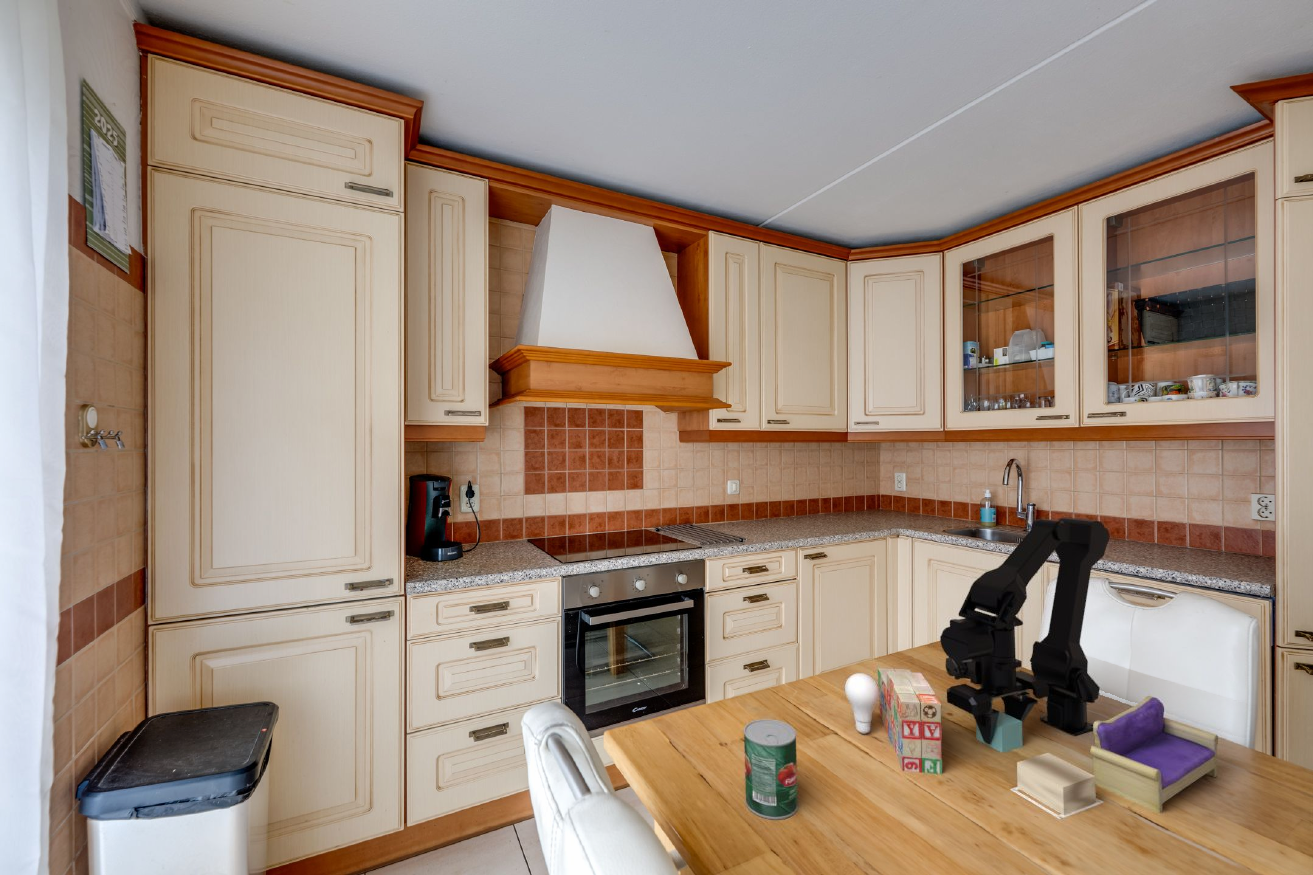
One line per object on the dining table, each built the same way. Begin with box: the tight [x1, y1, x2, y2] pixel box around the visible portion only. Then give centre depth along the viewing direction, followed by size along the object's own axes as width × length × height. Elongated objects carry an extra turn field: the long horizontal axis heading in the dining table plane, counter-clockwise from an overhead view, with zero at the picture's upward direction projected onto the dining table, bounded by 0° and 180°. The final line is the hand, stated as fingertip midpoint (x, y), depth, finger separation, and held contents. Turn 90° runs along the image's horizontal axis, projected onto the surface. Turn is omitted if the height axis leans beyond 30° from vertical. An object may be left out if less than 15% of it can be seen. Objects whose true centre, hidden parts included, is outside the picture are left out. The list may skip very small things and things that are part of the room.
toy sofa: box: [1089, 695, 1219, 814], centre depth 90 cm, size 21×9×10 cm, turn 118°
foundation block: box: [1016, 752, 1097, 815], centre depth 86 cm, size 7×7×4 cm
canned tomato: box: [743, 718, 799, 821], centre depth 87 cm, size 8×8×11 cm
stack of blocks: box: [877, 667, 943, 775], centre depth 104 cm, size 21×6×12 cm, turn 168°
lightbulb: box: [844, 672, 880, 735], centre depth 107 cm, size 6×6×11 cm
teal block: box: [975, 708, 1024, 754], centre depth 102 cm, size 5×5×5 cm
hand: (999, 739), depth 102 cm, fingers open, 6 cm apart
